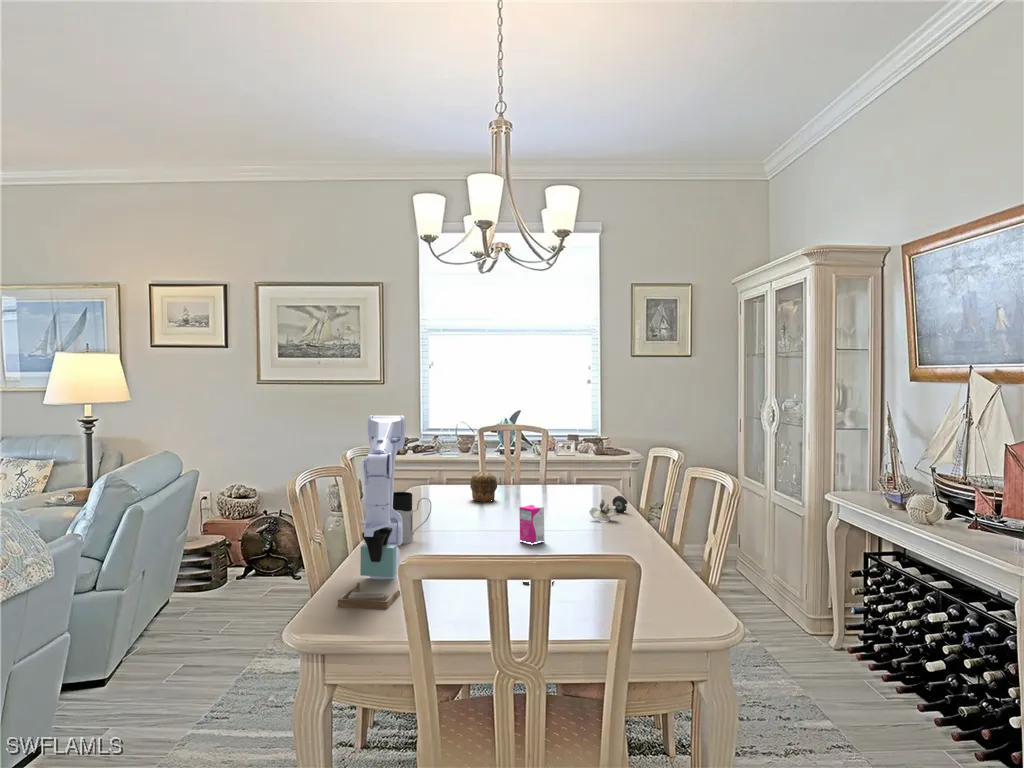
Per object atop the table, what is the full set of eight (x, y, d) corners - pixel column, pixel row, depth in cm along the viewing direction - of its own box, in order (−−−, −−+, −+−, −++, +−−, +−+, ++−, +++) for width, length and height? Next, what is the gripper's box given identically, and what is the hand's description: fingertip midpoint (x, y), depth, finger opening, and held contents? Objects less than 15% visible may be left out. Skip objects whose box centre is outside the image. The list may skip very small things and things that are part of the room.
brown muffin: (467, 502, 309) (467, 473, 309) (473, 497, 320) (473, 469, 320) (494, 503, 307) (494, 474, 307) (499, 498, 318) (499, 470, 318)
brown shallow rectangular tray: (357, 594, 188) (357, 582, 188) (403, 596, 186) (403, 584, 186) (337, 612, 175) (337, 599, 174) (387, 615, 173) (387, 601, 173)
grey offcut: (351, 600, 178) (351, 592, 178) (385, 601, 178) (385, 592, 178) (348, 605, 175) (348, 596, 175) (383, 606, 175) (383, 597, 175)
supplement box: (531, 539, 247) (531, 504, 247) (544, 542, 243) (545, 506, 242) (518, 542, 243) (519, 506, 243) (532, 545, 239) (532, 509, 238)
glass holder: (387, 537, 248) (387, 491, 247) (431, 537, 249) (431, 491, 248) (385, 544, 239) (385, 496, 238) (431, 543, 240) (431, 496, 240)
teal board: (363, 572, 187) (364, 544, 186) (395, 574, 185) (395, 545, 185) (360, 575, 184) (360, 546, 184) (392, 577, 183) (392, 548, 183)
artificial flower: (632, 516, 291) (637, 493, 288) (602, 534, 273) (607, 509, 270) (611, 507, 296) (617, 484, 293) (581, 524, 278) (586, 499, 275)
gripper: (371, 497, 192) (370, 551, 192) (351, 509, 178) (351, 567, 178) (398, 498, 191) (398, 552, 191) (380, 510, 177) (380, 568, 177)
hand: (377, 559), depth 185 cm, fingers closed on teal board, 2 cm apart
